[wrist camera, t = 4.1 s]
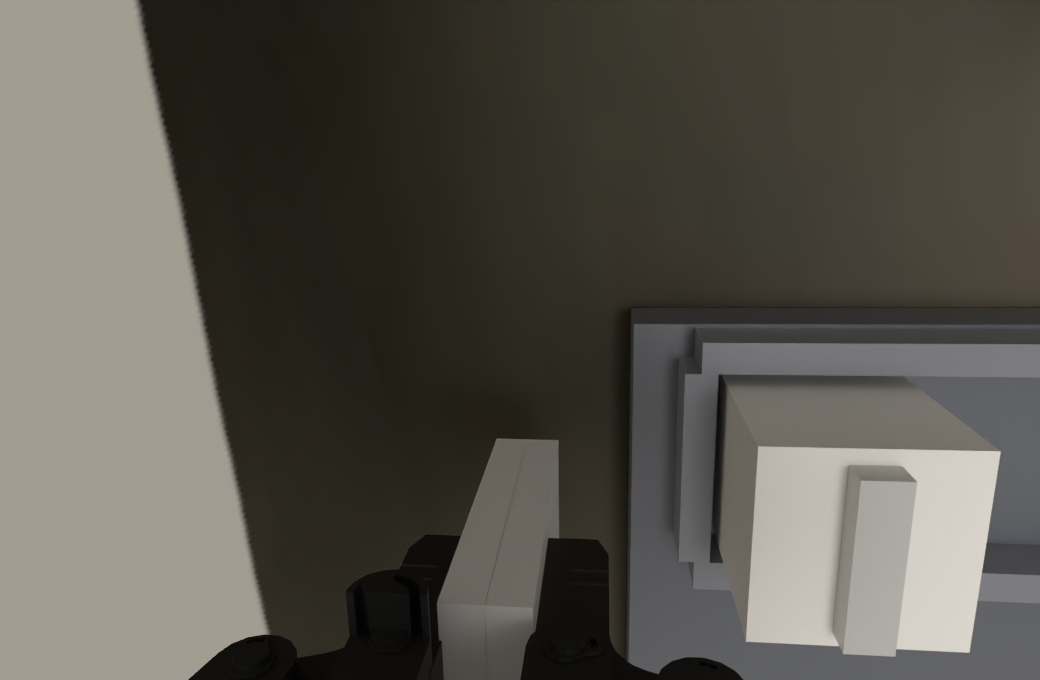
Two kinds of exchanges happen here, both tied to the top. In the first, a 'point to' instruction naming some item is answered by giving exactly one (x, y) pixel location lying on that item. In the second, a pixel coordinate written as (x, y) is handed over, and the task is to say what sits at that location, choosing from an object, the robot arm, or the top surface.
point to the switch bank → (835, 352)
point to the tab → (850, 512)
